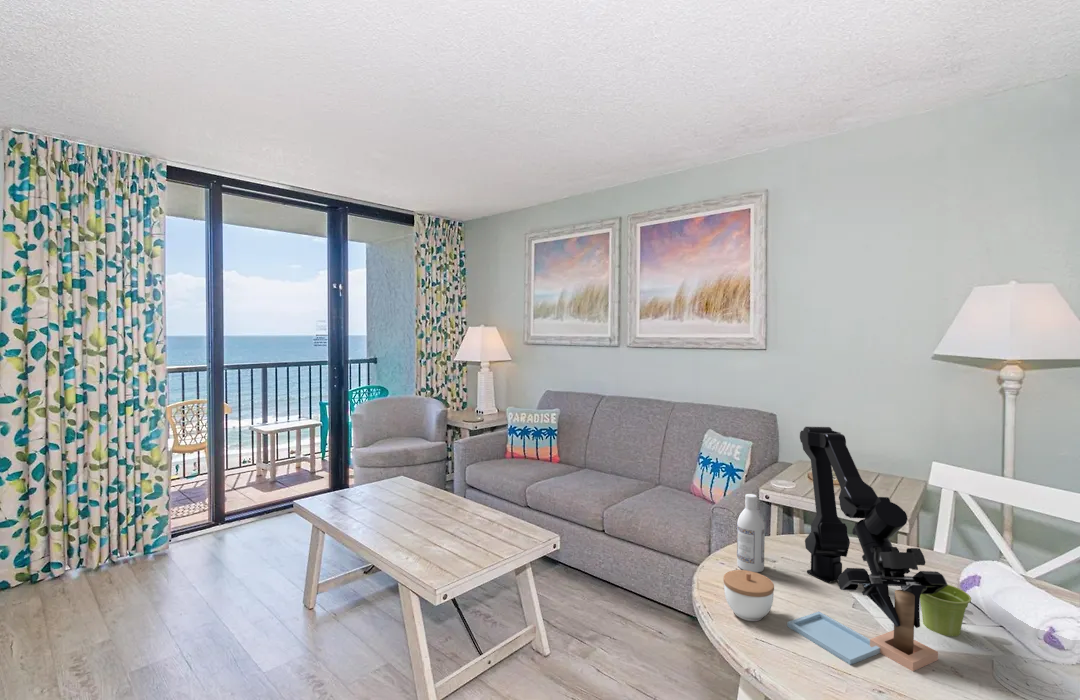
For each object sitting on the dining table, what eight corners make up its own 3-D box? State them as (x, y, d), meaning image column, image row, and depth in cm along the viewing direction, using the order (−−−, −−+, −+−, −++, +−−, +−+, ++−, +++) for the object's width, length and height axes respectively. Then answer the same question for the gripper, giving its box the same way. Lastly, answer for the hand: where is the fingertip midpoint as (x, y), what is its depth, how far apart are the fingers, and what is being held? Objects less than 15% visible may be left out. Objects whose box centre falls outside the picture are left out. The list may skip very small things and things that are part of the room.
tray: (787, 629, 108) (787, 621, 108) (818, 618, 113) (818, 611, 113) (850, 668, 96) (850, 659, 96) (883, 654, 100) (883, 646, 100)
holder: (869, 650, 101) (870, 639, 101) (894, 640, 104) (894, 629, 104) (912, 674, 94) (913, 662, 94) (937, 662, 97) (938, 651, 97)
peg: (889, 650, 100) (891, 591, 100) (899, 646, 101) (901, 588, 101) (906, 660, 97) (908, 599, 97) (916, 655, 98) (918, 596, 98)
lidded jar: (735, 596, 122) (735, 558, 122) (781, 613, 114) (781, 573, 114) (714, 613, 115) (715, 573, 114) (762, 633, 107) (762, 590, 107)
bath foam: (754, 560, 141) (755, 490, 141) (769, 572, 135) (770, 498, 134) (731, 562, 140) (732, 492, 140) (745, 574, 134) (746, 500, 133)
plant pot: (944, 617, 113) (944, 579, 113) (982, 643, 103) (983, 601, 103) (903, 618, 113) (904, 580, 112) (938, 644, 103) (939, 602, 103)
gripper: (845, 529, 103) (874, 611, 93) (942, 533, 102) (983, 617, 91) (826, 551, 111) (851, 628, 101) (916, 554, 110) (951, 633, 99)
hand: (908, 626), depth 98 cm, fingers closed on peg, 3 cm apart
